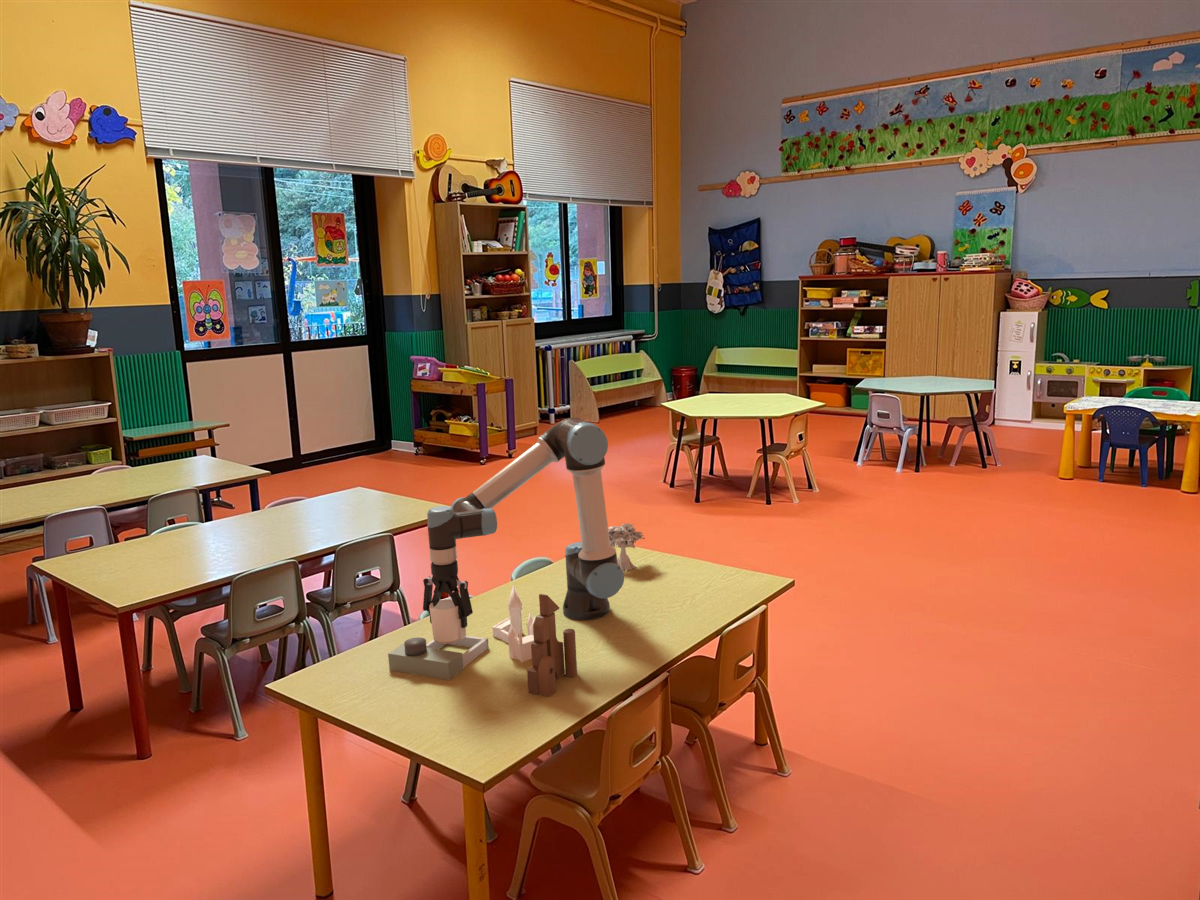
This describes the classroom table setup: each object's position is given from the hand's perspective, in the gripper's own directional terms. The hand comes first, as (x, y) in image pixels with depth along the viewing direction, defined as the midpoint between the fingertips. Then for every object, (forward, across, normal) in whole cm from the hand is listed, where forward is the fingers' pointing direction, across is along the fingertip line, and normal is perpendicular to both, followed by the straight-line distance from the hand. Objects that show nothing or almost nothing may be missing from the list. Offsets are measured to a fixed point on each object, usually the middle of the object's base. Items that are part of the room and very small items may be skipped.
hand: (449, 635), depth 257 cm
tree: (+6, -19, -87) cm, 89 cm away
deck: (+6, +1, +3) cm, 7 cm away
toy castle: (+6, -14, -14) cm, 21 cm away
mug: (+1, 0, 0) cm, 1 cm away
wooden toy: (+6, -37, +6) cm, 38 cm away
